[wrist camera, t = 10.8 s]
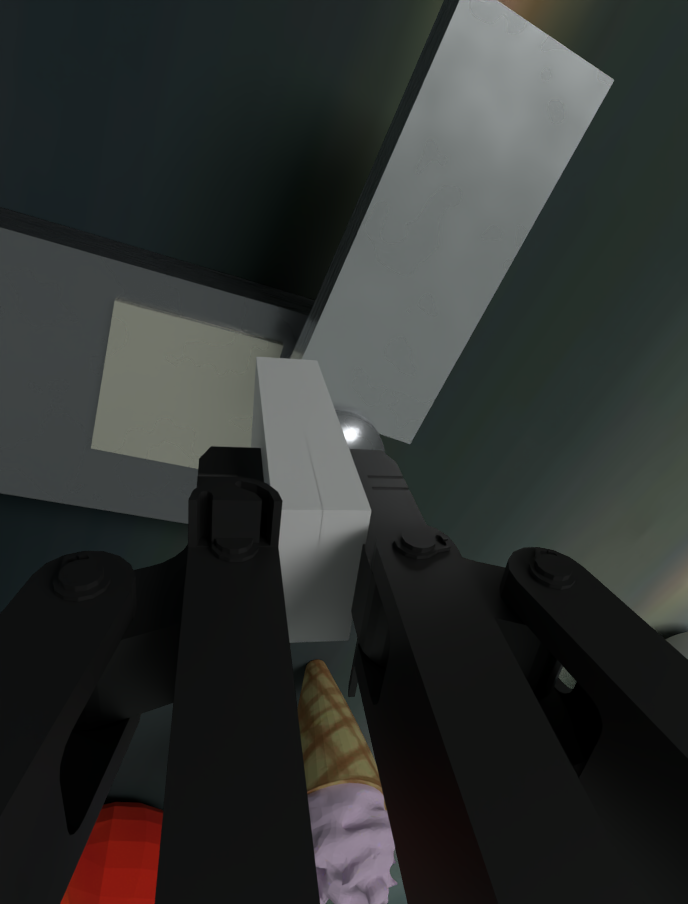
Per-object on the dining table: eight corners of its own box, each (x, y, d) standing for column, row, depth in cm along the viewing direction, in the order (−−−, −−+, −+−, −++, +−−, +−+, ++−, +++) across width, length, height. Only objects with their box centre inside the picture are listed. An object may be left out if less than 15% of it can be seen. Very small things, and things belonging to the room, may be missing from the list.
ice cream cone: (377, 672, 43) (440, 913, 30) (306, 712, 44) (338, 962, 31) (328, 623, 39) (375, 872, 27) (252, 667, 40) (263, 927, 28)
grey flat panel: (582, 81, 20) (623, 79, 18) (364, 484, 27) (375, 516, 25) (445, -8, 18) (474, -23, 16) (249, 450, 25) (251, 481, 23)
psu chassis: (-321, 112, 21) (-467, 115, 17) (365, 314, 29) (389, 353, 25) (-275, 406, 26) (-377, 468, 22) (295, 509, 34) (304, 569, 30)
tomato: (16, 871, 48) (-23, 1012, 41) (17, 779, 42) (-29, 924, 35) (189, 863, 52) (183, 992, 44) (212, 778, 46) (209, 908, 39)
